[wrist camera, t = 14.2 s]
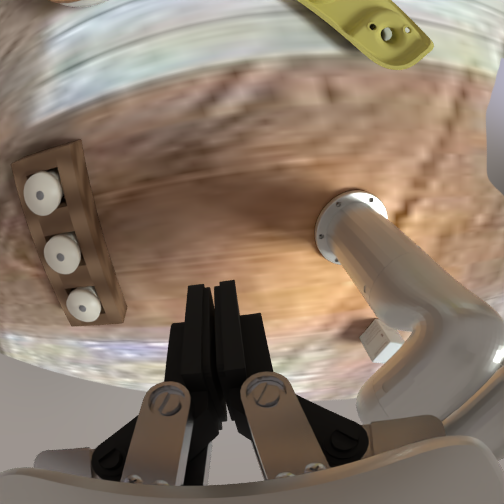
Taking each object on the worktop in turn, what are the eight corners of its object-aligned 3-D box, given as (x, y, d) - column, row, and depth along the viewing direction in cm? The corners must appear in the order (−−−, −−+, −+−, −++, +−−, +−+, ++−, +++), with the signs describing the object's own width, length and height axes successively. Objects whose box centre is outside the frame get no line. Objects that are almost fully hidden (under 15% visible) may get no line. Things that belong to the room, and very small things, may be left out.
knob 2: (96, 239, 40) (85, 259, 35) (77, 261, 41) (65, 281, 36) (70, 214, 37) (55, 231, 32) (51, 238, 38) (37, 256, 33)
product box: (375, 317, 57) (390, 341, 51) (392, 322, 60) (408, 345, 53) (358, 337, 60) (371, 362, 54) (376, 341, 62) (389, 364, 56)
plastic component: (272, -16, 24) (323, -65, 17) (278, -13, 29) (321, -55, 22) (392, 83, 31) (442, 42, 24) (381, 71, 36) (424, 35, 29)
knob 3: (113, 289, 44) (106, 311, 40) (95, 306, 45) (87, 327, 41) (87, 267, 41) (77, 287, 37) (70, 285, 43) (60, 306, 38)
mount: (25, 156, 31) (10, 164, 28) (81, 139, 32) (69, 145, 29) (77, 311, 46) (71, 326, 42) (127, 307, 47) (123, 323, 43)
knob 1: (80, 181, 35) (65, 195, 30) (59, 208, 36) (43, 224, 31) (55, 154, 32) (37, 165, 28) (35, 183, 33) (16, 196, 29)
